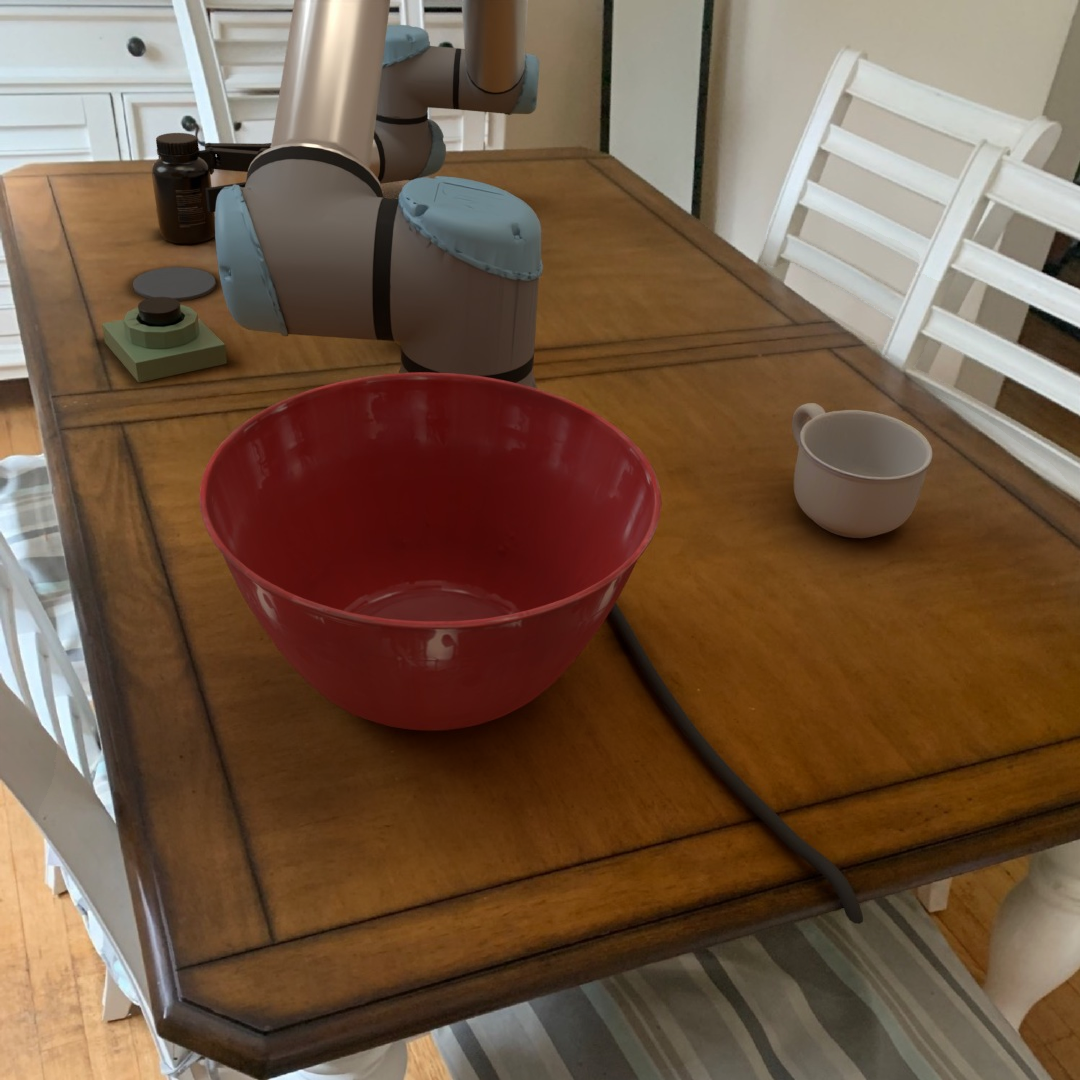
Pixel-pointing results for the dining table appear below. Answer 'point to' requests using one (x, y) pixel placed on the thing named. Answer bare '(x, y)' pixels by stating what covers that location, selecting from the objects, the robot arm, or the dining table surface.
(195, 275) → the coaster
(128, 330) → the button box
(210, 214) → the supplement bottle
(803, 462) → the teacup
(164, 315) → the button
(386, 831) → the dining table surface
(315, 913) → the dining table surface
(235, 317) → the robot arm
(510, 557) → the mixing bowl
